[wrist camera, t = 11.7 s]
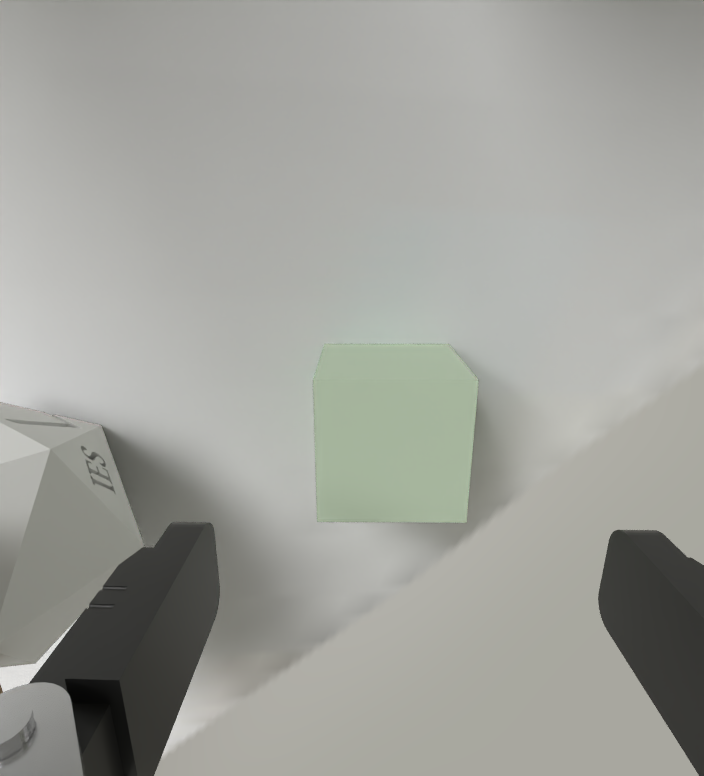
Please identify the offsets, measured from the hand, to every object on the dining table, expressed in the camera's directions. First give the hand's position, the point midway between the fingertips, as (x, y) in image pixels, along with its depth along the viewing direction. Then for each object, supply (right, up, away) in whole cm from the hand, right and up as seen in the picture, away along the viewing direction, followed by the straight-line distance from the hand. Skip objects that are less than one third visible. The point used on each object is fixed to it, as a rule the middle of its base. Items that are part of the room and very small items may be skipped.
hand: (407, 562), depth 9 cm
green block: (0, +3, +8) cm, 9 cm away
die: (-13, 0, +9) cm, 16 cm away
